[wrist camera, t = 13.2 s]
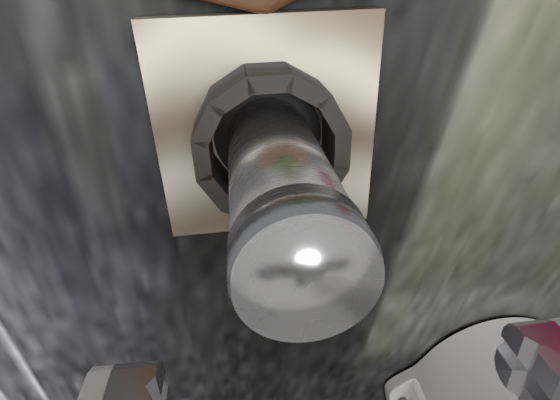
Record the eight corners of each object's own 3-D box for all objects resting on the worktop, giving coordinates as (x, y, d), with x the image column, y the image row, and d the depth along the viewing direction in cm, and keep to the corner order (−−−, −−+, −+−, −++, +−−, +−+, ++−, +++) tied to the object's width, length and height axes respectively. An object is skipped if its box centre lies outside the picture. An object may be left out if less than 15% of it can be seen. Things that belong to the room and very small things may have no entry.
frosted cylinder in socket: (310, 92, 21) (397, 210, 10) (310, 172, 23) (380, 335, 13) (221, 97, 20) (218, 226, 10) (229, 179, 23) (234, 353, 12)
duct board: (359, 206, 27) (383, 246, 23) (175, 223, 26) (167, 267, 22) (375, 6, 21) (410, 13, 17) (137, 16, 20) (115, 26, 16)
